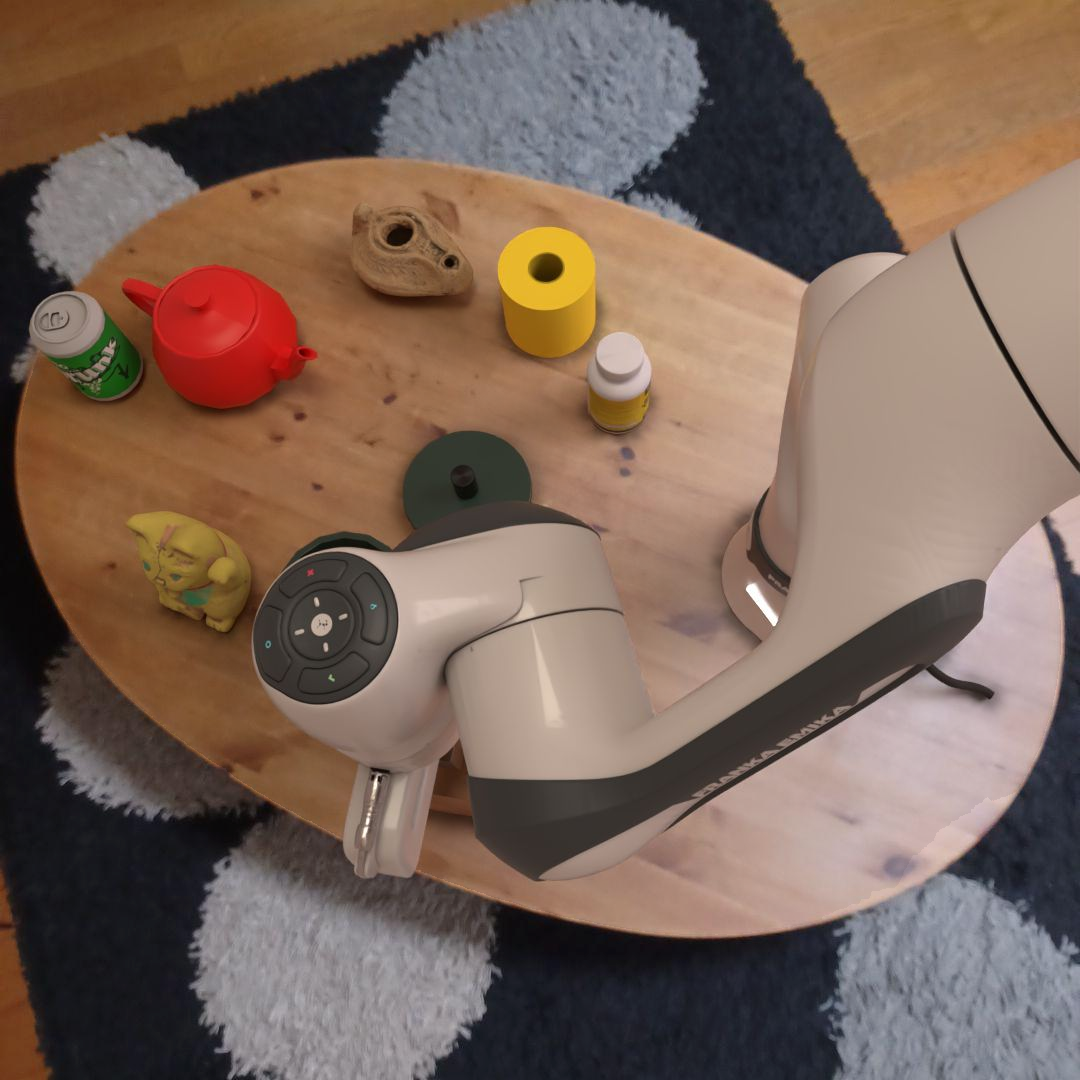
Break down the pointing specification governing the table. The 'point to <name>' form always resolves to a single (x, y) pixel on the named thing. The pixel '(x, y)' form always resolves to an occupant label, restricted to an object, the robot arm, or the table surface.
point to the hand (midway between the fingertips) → (433, 730)
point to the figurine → (193, 566)
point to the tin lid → (463, 476)
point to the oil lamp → (406, 253)
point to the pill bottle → (618, 383)
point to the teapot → (220, 335)
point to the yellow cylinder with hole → (548, 291)
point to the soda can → (86, 345)
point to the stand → (451, 791)
